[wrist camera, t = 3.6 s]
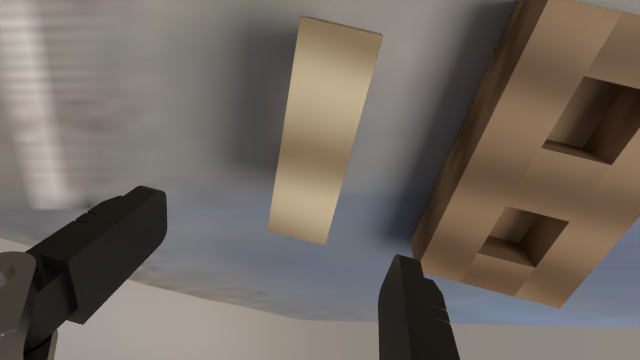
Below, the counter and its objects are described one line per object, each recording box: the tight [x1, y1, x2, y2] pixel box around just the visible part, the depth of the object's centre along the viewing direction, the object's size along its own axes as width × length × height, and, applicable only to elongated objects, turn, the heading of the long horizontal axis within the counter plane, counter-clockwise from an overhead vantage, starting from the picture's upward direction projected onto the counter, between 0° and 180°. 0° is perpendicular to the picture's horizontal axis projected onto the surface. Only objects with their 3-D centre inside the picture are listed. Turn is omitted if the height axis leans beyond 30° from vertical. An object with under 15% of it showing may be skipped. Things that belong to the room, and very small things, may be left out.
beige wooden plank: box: [268, 16, 383, 245], centre depth 21 cm, size 13×4×8 cm, turn 168°
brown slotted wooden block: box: [410, 0, 640, 308], centre depth 22 cm, size 20×12×4 cm, turn 168°
